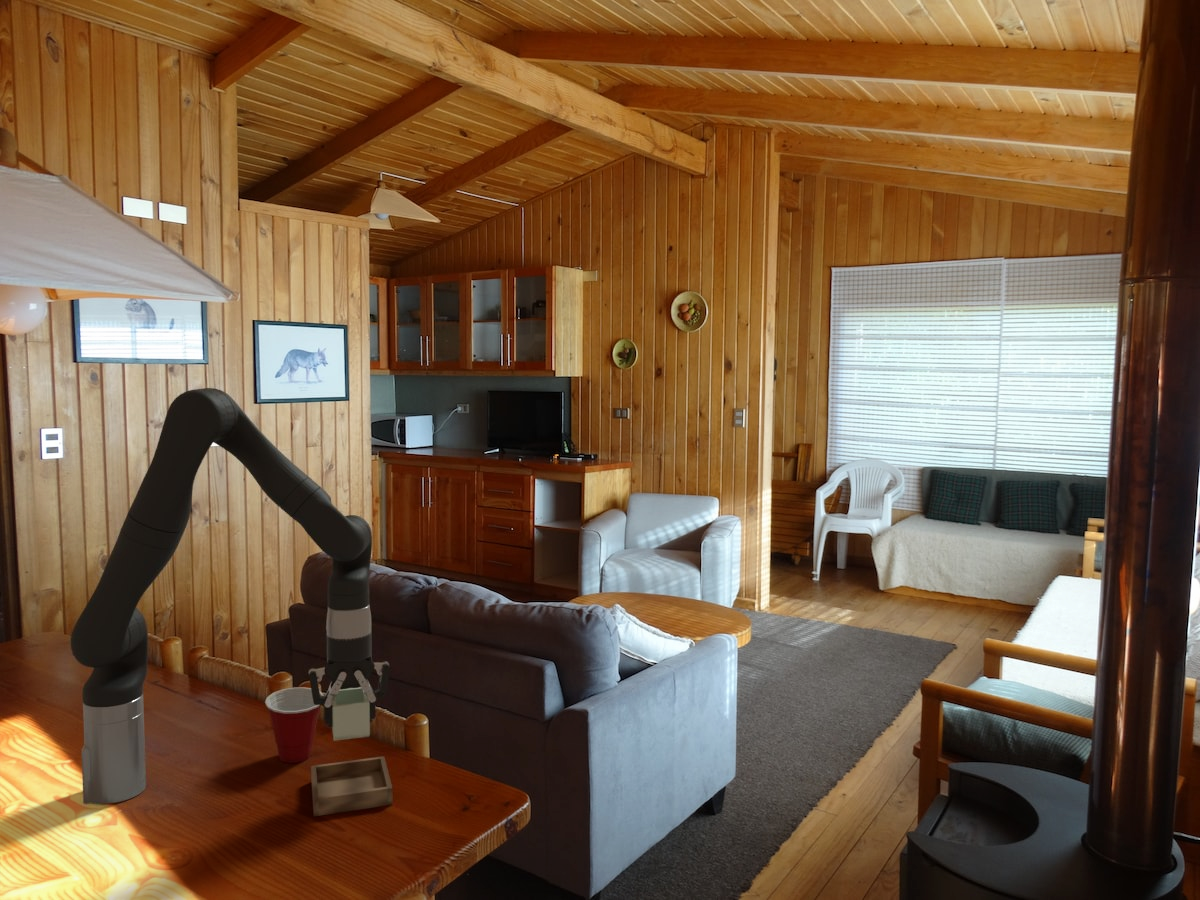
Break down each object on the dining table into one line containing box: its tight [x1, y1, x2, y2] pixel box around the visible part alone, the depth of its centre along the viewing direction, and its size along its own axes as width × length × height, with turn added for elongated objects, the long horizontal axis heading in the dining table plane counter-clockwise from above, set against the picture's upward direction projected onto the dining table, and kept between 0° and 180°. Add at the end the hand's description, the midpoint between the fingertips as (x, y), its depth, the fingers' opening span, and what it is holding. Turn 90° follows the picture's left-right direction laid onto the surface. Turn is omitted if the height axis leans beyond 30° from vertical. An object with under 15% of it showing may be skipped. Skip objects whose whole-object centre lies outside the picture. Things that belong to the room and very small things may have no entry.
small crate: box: [331, 686, 371, 742], centre depth 153 cm, size 6×8×6 cm
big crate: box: [310, 755, 393, 817], centre depth 155 cm, size 13×13×3 cm
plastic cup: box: [264, 686, 325, 764], centre depth 168 cm, size 11×11×12 cm
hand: (350, 723), depth 153 cm, fingers closed on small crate, 6 cm apart
